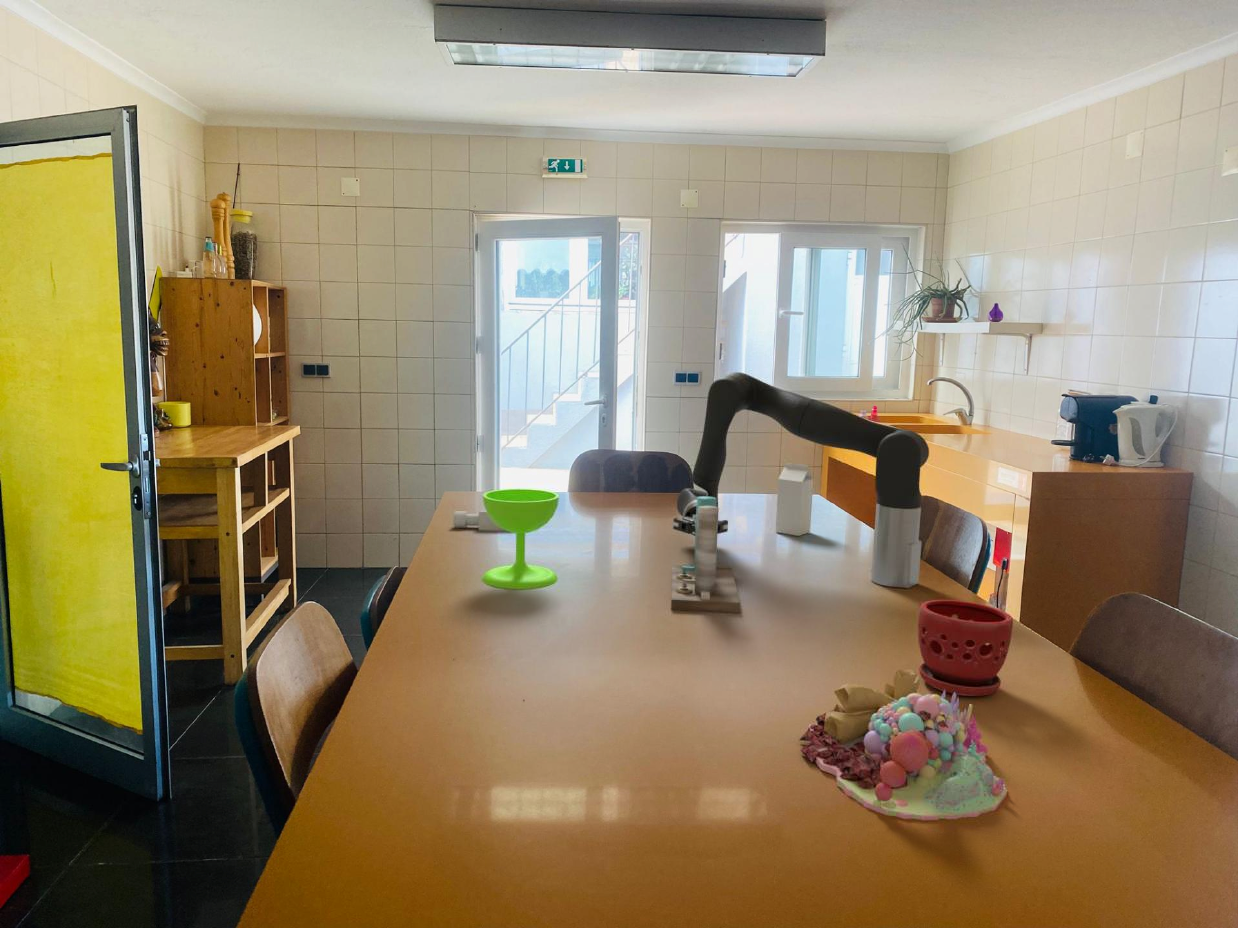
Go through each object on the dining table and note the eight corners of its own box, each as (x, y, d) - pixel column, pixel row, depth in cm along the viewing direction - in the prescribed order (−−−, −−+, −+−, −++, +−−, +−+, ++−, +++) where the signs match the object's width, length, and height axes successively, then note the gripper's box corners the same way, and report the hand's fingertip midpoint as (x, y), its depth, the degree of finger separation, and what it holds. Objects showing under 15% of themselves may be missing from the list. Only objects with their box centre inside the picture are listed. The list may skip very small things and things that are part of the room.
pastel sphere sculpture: (767, 737, 112) (771, 670, 111) (906, 711, 122) (911, 648, 121) (902, 839, 90) (909, 756, 89) (1060, 796, 100) (1068, 721, 98)
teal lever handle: (682, 571, 182) (685, 495, 180) (712, 572, 181) (716, 496, 179) (682, 576, 178) (685, 498, 176) (713, 577, 177) (716, 500, 175)
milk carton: (798, 536, 232) (803, 467, 229) (775, 532, 236) (778, 464, 233) (810, 532, 237) (814, 464, 235) (786, 528, 242) (790, 461, 239)
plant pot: (1015, 706, 124) (1023, 626, 122) (920, 697, 126) (926, 618, 125) (995, 673, 136) (1002, 600, 135) (908, 665, 139) (914, 593, 137)
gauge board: (672, 573, 190) (675, 489, 188) (731, 576, 189) (735, 491, 187) (671, 609, 165) (674, 512, 162) (739, 612, 164) (744, 515, 161)
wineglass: (563, 570, 190) (564, 490, 188) (550, 591, 175) (552, 503, 172) (492, 566, 192) (493, 487, 189) (473, 586, 176) (473, 500, 174)
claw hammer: (469, 495, 258) (453, 510, 228) (543, 497, 258) (536, 513, 229) (469, 513, 258) (452, 531, 228) (543, 515, 259) (536, 533, 229)
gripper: (726, 534, 203) (731, 551, 186) (670, 531, 204) (670, 548, 187) (728, 502, 202) (733, 517, 185) (672, 500, 203) (671, 514, 186)
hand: (701, 533), depth 186 cm, fingers closed
